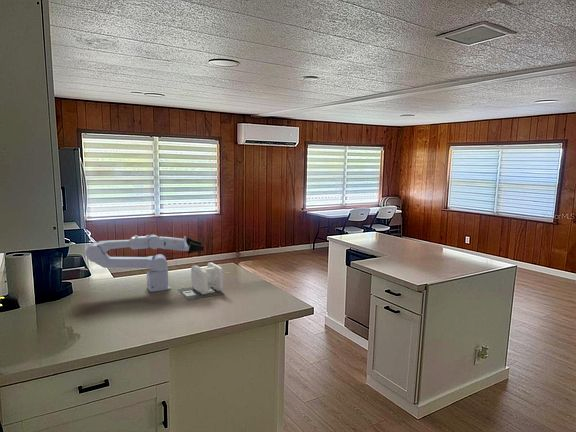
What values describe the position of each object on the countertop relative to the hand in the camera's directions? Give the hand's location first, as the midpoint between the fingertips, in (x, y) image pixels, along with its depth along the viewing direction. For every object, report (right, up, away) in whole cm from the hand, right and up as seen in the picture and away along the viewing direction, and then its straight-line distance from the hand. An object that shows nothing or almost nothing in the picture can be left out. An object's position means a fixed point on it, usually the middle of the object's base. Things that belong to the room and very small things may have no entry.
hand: (202, 246), depth 192 cm
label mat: (+1, -20, -8) cm, 22 cm away
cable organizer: (+4, -20, -7) cm, 22 cm away
